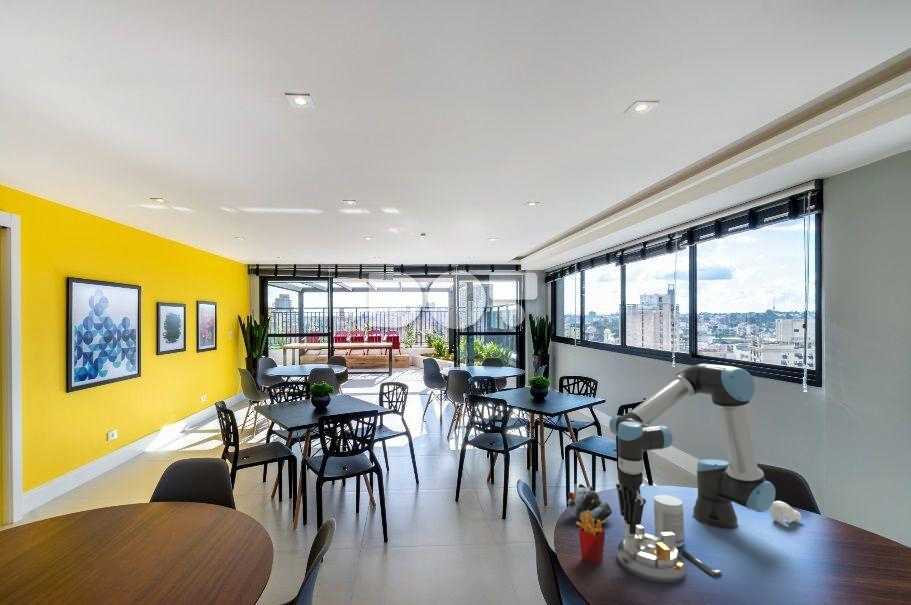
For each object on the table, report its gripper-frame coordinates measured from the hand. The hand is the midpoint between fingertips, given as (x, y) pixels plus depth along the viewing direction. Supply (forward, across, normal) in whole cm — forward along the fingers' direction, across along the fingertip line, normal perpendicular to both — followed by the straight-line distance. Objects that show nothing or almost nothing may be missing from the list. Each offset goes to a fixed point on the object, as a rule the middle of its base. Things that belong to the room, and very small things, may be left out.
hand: (630, 541), depth 134 cm
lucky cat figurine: (+8, -29, +2) cm, 30 cm away
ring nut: (+4, +1, +6) cm, 8 cm away
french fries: (+7, -4, -13) cm, 15 cm away
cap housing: (+7, +1, +6) cm, 10 cm away
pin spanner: (+7, +4, +22) cm, 23 cm away
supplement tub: (+8, -10, +22) cm, 25 cm away
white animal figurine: (+8, -13, +78) cm, 80 cm away
